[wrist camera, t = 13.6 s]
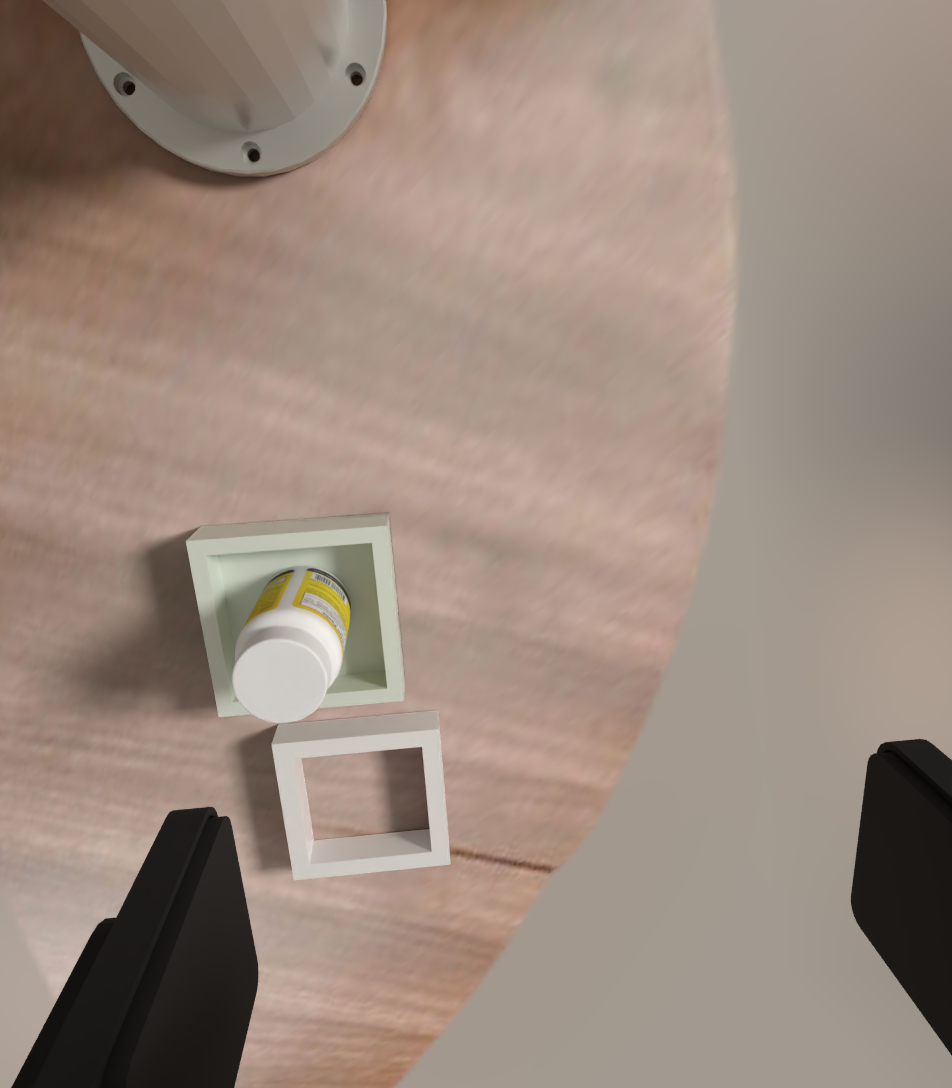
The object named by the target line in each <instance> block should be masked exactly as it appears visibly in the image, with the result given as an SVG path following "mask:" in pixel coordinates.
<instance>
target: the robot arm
mask: <svg viewBox="0 0 952 1088" xmlns="http://www.w3.org/2000/svg"><path fill="white" fill-rule="evenodd" d="M42 1H44V2H45V3H46V4H47V5H49V6H50V7H51V8H52V9H53V10H55V11H56V12H57V13H58V14H59V15H61V16H62V17H63V18H64V19H65V20H67V21H68V22H69V23H70V24H71V25H73V26H74V27H75V28H76V29H77V30H79V34H80V37H81V41H82V44H83V46H84V48H85V51H86V53H87V55H88V57H89V59H90V61H91V64H92V66H93V68H94V70H95V72H96V75H97V76H98V78H99V79H100V81H101V82H102V84H103V85H104V87H105V88H106V90H107V91H108V93H109V94H110V96H111V97H112V99H113V100H114V102H115V103H116V105H117V106H118V107H119V108H120V109H121V110H122V111H123V112H124V113H125V114H126V115H127V117H128V118H129V119H130V120H131V121H132V122H133V123H134V124H135V125H136V126H137V127H138V128H139V129H140V130H141V131H143V132H144V133H145V134H146V135H148V136H149V137H150V138H152V139H153V140H154V141H155V142H157V143H158V144H159V145H161V146H162V147H163V148H165V149H166V150H168V151H170V152H171V153H173V154H175V155H176V156H178V157H180V158H181V159H183V160H185V161H188V162H190V163H193V164H195V165H197V166H200V167H202V168H205V169H207V170H209V171H214V172H219V173H224V174H229V175H233V176H269V175H274V174H279V173H283V172H288V171H292V170H294V169H296V168H299V167H301V166H303V165H305V164H308V163H310V162H312V161H314V160H316V159H318V158H319V157H320V156H322V155H323V154H324V153H326V152H327V151H328V150H330V149H331V148H332V147H334V146H335V145H337V144H338V143H339V142H340V140H341V139H342V138H343V137H344V136H345V135H346V134H347V133H348V132H349V130H350V129H351V128H352V127H353V126H354V125H355V124H356V122H357V121H358V119H359V117H360V116H361V114H362V112H363V111H364V109H365V107H366V105H367V104H368V102H369V100H370V99H371V96H372V94H373V91H374V88H375V85H376V83H377V80H378V77H379V74H380V71H381V68H382V62H383V56H384V51H385V45H386V39H387V4H386V0H42ZM356 74H357V75H360V76H361V77H362V78H363V81H362V83H361V84H360V85H358V86H356V85H353V84H352V83H351V78H352V77H353V76H354V75H356ZM130 84H135V91H134V93H133V94H132V95H128V93H127V87H128V86H129V85H130ZM252 151H258V152H259V154H260V159H259V160H258V161H257V162H251V160H250V153H251V152H252ZM851 905H852V910H853V914H854V917H855V919H856V921H857V923H858V925H859V926H860V928H861V930H862V931H863V932H864V934H865V935H866V937H867V938H868V939H869V941H870V942H871V943H872V945H873V946H874V947H875V949H876V950H877V952H878V953H879V954H880V956H881V957H882V959H883V960H884V961H885V963H886V964H887V966H888V967H889V968H890V970H891V971H892V973H893V974H894V976H895V977H896V978H897V980H898V981H899V982H900V984H901V985H902V987H903V988H904V989H905V991H906V992H907V993H908V995H909V996H910V998H911V999H912V1001H913V1002H914V1003H915V1005H916V1006H917V1008H918V1009H919V1010H920V1011H921V1013H922V1014H923V1016H924V1017H925V1019H926V1020H927V1021H928V1023H929V1024H930V1026H931V1027H932V1028H933V1030H934V1031H935V1032H936V1034H937V1035H938V1037H939V1038H940V1039H941V1041H942V1042H943V1044H944V1045H945V1047H946V1048H947V1049H948V1051H949V1052H950V1053H951V1055H952V760H951V759H950V758H948V757H947V756H946V755H945V754H944V753H942V752H941V751H940V750H939V749H938V748H936V747H935V746H934V745H933V744H932V743H930V742H928V741H927V740H923V739H915V740H906V741H894V742H885V743H883V744H881V745H880V747H879V748H878V751H877V753H876V754H873V755H871V756H870V758H869V760H868V765H867V772H866V780H865V789H864V797H863V804H862V812H861V820H860V829H859V836H858V844H857V852H856V861H855V869H854V878H853V886H852V893H851ZM257 986H258V961H257V956H256V951H255V945H254V940H253V935H252V930H251V924H250V919H249V914H248V909H247V904H246V898H245V893H244V888H243V883H242V877H241V872H240V867H239V862H238V856H237V851H236V846H235V841H234V836H233V830H232V825H231V821H230V819H229V817H227V816H223V817H218V815H217V812H216V810H215V809H214V808H213V807H205V808H194V809H184V810H173V811H171V812H170V813H169V814H168V815H167V817H166V819H165V821H164V823H163V825H162V827H161V829H160V831H159V833H158V835H157V837H156V839H155V841H154V843H153V845H152V847H151V849H150V851H149V853H148V855H147V857H146V859H145V861H144V863H143V865H142V867H141V869H140V871H139V873H138V875H137V877H136V879H135V881H134V883H133V885H132V887H131V889H130V891H129V893H128V895H127V897H126V899H125V901H124V903H123V906H122V908H121V910H120V912H119V914H118V916H117V918H108V919H104V920H103V921H102V922H100V923H99V924H98V925H97V927H96V928H95V930H94V931H93V933H92V934H91V936H90V938H89V940H88V942H87V944H86V946H85V948H84V950H83V952H82V954H81V955H80V957H79V959H78V961H77V963H76V965H75V967H74V969H73V971H72V973H71V975H70V977H69V978H68V980H67V982H66V984H65V986H64V988H63V990H62V992H61V994H60V996H59V998H58V999H57V1001H56V1003H55V1005H54V1007H53V1009H52V1011H51V1013H50V1015H49V1017H48V1019H47V1021H46V1023H45V1024H44V1026H43V1028H42V1030H41V1032H40V1034H39V1036H38V1038H37V1040H36V1042H35V1043H34V1045H33V1047H32V1050H31V1051H30V1053H29V1055H28V1057H27V1059H26V1061H25V1063H24V1065H23V1066H22V1068H21V1070H20V1072H19V1074H18V1076H17V1078H16V1080H15V1082H14V1084H13V1086H12V1087H11V1088H234V1086H235V1082H236V1077H237V1073H238V1069H239V1065H240V1060H241V1056H242V1052H243V1048H244V1044H245V1039H246V1035H247V1031H248V1027H249V1022H250V1018H251V1014H252V1010H253V1005H254V1001H255V997H256V992H257Z"/></svg>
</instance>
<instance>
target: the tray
mask: <svg viewBox="0 0 952 1088" xmlns="http://www.w3.org/2000/svg"><path fill="white" fill-rule="evenodd" d="M186 545H187V551H188V556H189V561H190V567H191V572H192V577H193V583H194V588H195V593H196V599H197V604H198V609H199V615H200V620H201V625H202V631H203V636H204V641H205V647H206V652H207V657H208V663H209V668H210V673H211V679H212V684H213V689H214V695H215V700H216V705H217V711H218V716H219V717H227V716H239V715H250V713H249V712H248V711H247V710H245V709H244V708H243V706H242V705H241V704H240V703H239V701H238V700H237V698H236V696H235V694H234V691H233V687H232V672H233V668H234V665H235V647H236V642H237V639H238V636H239V634H240V632H241V630H242V629H243V627H244V625H245V623H246V621H247V619H248V617H249V615H250V613H251V612H252V610H253V608H254V606H255V604H256V602H257V600H258V598H259V596H260V595H261V593H262V591H263V589H264V588H265V586H266V584H267V583H268V582H269V581H270V580H271V579H272V578H273V577H274V576H275V575H276V574H278V573H279V572H281V571H283V570H286V569H289V568H292V567H297V566H313V567H318V568H321V569H324V570H326V571H328V572H330V573H331V574H333V575H334V576H335V577H337V578H338V579H339V580H340V581H341V582H342V584H343V585H344V587H345V588H346V590H347V592H348V594H349V597H350V601H351V619H350V624H349V629H348V634H347V639H346V645H345V649H344V654H343V660H342V664H341V668H340V671H339V673H338V676H337V677H336V679H335V681H334V682H333V684H332V685H331V686H330V687H329V688H328V689H327V692H326V695H325V697H324V699H323V701H322V703H321V704H320V705H319V707H318V708H328V707H339V706H351V705H362V704H373V703H384V702H395V701H404V687H405V675H404V665H403V655H402V644H401V634H400V624H399V613H398V603H397V593H396V582H395V572H394V562H393V552H392V541H391V531H390V521H389V512H388V513H375V514H362V515H348V516H335V517H322V518H308V519H295V520H282V521H268V522H255V523H242V524H228V525H215V526H202V527H200V528H198V529H197V530H196V531H195V532H194V533H193V534H192V535H191V536H190V537H189V538H188V539H187V540H186Z"/></svg>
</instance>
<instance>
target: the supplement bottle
mask: <svg viewBox="0 0 952 1088" xmlns="http://www.w3.org/2000/svg"><path fill="white" fill-rule="evenodd" d="M350 619H351V601H350V597H349V594H348V592H347V590H346V588H345V587H344V585H343V584H342V582H341V581H340V580H339V579H338V578H337V577H335V576H334V575H333V574H331V573H330V572H328V571H326V570H324V569H321V568H318V567H313V566H297V567H292V568H289V569H286V570H283V571H281V572H279V573H278V574H276V575H275V576H274V577H273V578H272V579H271V580H270V581H269V582H268V583H267V584H266V586H265V588H264V589H263V591H262V593H261V595H260V596H259V598H258V600H257V602H256V604H255V606H254V608H253V610H252V612H251V613H250V615H249V617H248V619H247V621H246V623H245V625H244V627H243V629H242V630H241V632H240V634H239V636H238V639H237V642H236V647H235V665H234V668H233V672H232V687H233V691H234V694H235V696H236V698H237V700H238V701H239V703H240V704H241V705H242V706H243V708H244V709H245V710H247V711H248V712H249V713H250V714H252V715H253V716H255V717H257V718H259V719H261V720H264V721H267V722H273V723H290V722H294V721H298V720H301V719H303V718H305V717H307V716H308V715H310V714H311V713H313V712H314V711H315V710H316V709H317V708H318V707H319V705H320V704H321V703H322V701H323V699H324V697H325V695H326V692H327V689H328V688H329V687H330V686H331V685H332V684H333V682H334V681H335V679H336V677H337V676H338V673H339V671H340V668H341V664H342V660H343V654H344V649H345V645H346V639H347V634H348V629H349V624H350Z"/></svg>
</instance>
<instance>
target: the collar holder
mask: <svg viewBox="0 0 952 1088" xmlns="http://www.w3.org/2000/svg"><path fill="white" fill-rule="evenodd" d="M271 745H272V751H273V757H274V763H275V769H276V775H277V781H278V787H279V793H280V799H281V805H282V812H283V818H284V824H285V830H286V836H287V842H288V848H289V854H290V860H291V866H292V872H293V878H294V880H303V879H312V878H322V877H332V876H342V875H352V874H361V873H371V872H381V871H391V870H401V869H411V868H420V867H430V866H440V865H450V851H449V836H448V824H447V812H446V800H445V788H444V776H443V764H442V752H441V739H440V727H439V715H438V710H433V711H422V712H411V713H400V714H389V715H378V716H367V717H356V718H345V719H334V720H322V721H311V722H300V723H289V724H278V727H277V730H276V732H275V735H274V738H273V741H272V744H271ZM414 747H422V751H423V762H424V773H425V784H426V795H427V805H428V816H429V827H430V829H423V830H413V831H403V832H393V833H383V834H373V835H363V836H353V837H342V838H332V839H322V840H314V838H313V831H312V824H311V818H310V811H309V805H308V798H307V791H306V785H305V778H304V772H303V765H302V758H307V757H317V756H328V755H339V754H350V753H361V752H371V751H382V750H393V749H404V748H414Z"/></svg>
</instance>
